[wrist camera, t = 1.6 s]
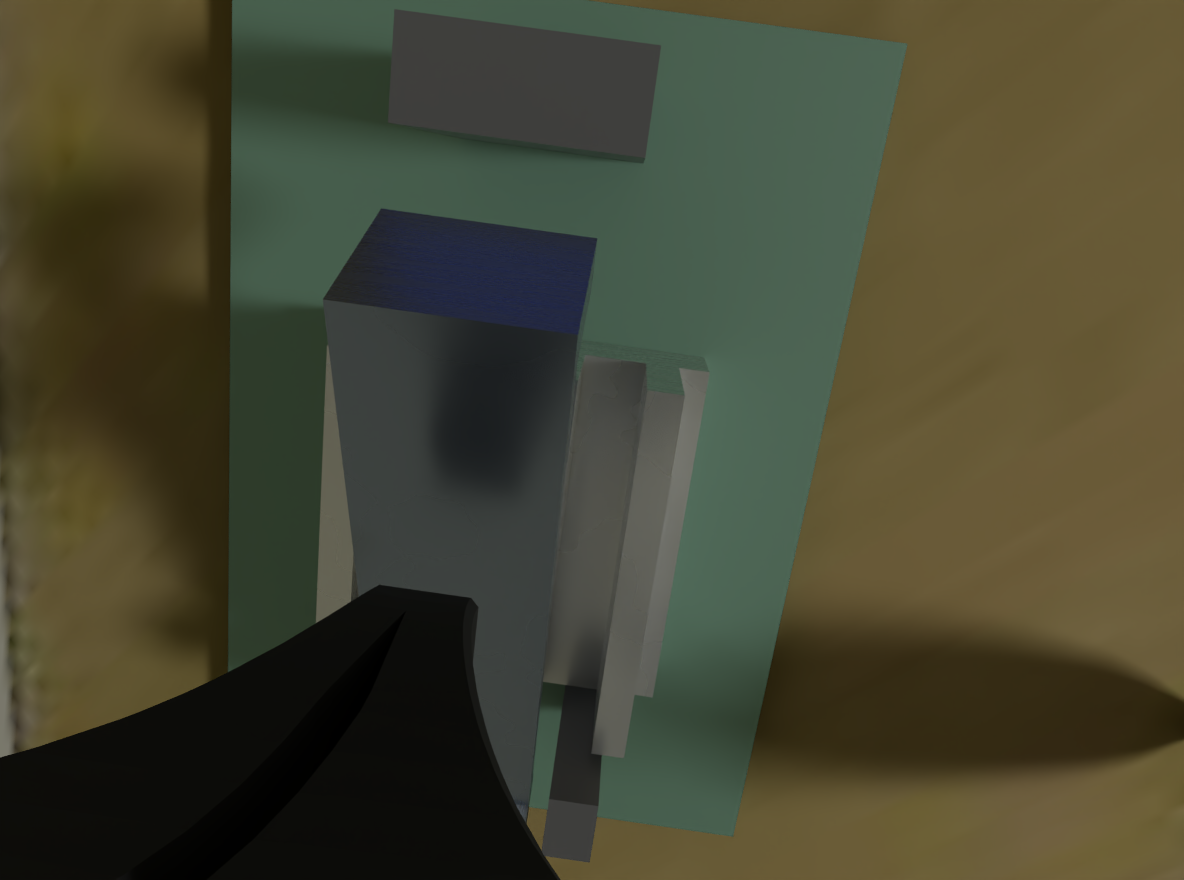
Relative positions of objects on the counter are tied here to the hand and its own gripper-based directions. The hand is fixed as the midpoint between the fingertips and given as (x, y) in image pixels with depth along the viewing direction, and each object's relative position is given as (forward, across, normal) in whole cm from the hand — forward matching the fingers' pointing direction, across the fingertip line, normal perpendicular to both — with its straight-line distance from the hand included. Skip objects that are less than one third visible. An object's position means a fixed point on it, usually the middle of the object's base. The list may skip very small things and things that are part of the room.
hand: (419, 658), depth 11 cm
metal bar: (+5, 0, 0) cm, 5 cm away
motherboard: (+10, 0, 0) cm, 11 cm away
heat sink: (+10, 0, +1) cm, 10 cm away
